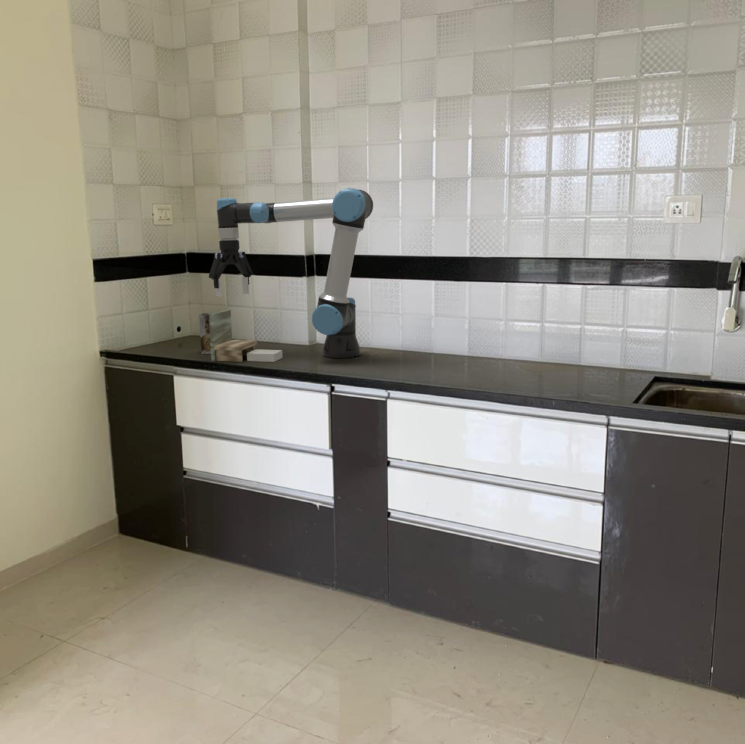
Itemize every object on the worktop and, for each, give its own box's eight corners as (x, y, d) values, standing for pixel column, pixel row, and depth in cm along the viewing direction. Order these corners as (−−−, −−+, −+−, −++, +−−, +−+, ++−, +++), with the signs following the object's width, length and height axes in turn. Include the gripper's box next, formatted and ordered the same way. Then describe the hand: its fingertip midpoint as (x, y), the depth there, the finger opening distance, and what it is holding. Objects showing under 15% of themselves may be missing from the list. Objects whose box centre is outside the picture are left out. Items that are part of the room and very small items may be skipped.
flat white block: (282, 357, 290) (282, 350, 289) (274, 361, 281) (273, 354, 281) (256, 356, 293) (256, 349, 292) (247, 360, 284) (246, 353, 283)
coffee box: (227, 351, 306) (225, 312, 302) (222, 354, 299) (220, 314, 296) (205, 351, 306) (203, 312, 303) (200, 354, 300) (198, 314, 297)
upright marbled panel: (257, 355, 296) (255, 310, 293) (241, 362, 281) (238, 315, 277) (229, 354, 299) (227, 309, 296) (211, 361, 284) (208, 314, 280)
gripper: (246, 238, 294) (250, 292, 298) (196, 240, 275) (200, 297, 279) (259, 238, 290) (263, 292, 294) (209, 240, 271) (213, 298, 275)
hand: (232, 295), depth 286 cm, fingers open, 13 cm apart
